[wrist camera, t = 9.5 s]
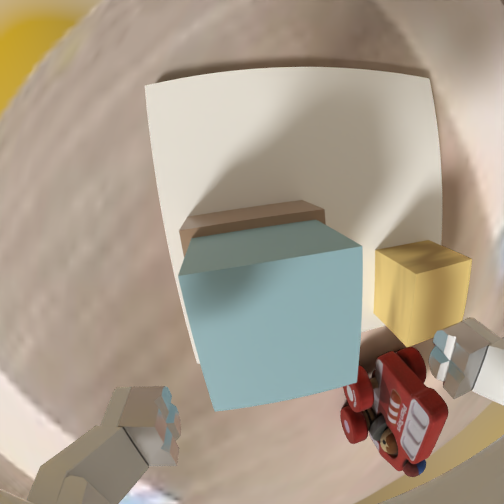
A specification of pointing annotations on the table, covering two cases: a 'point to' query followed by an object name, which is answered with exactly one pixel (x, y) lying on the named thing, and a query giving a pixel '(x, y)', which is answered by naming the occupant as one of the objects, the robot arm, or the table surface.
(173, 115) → the board
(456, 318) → the ochre block
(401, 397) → the toy fire truck
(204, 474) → the table surface
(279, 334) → the teal block
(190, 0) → the table surface
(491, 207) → the table surface
